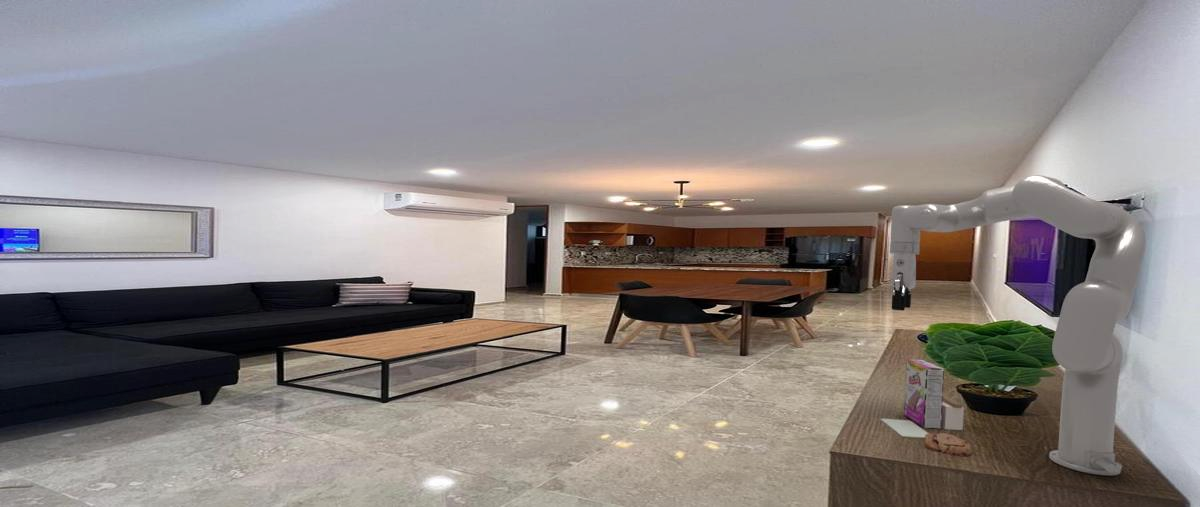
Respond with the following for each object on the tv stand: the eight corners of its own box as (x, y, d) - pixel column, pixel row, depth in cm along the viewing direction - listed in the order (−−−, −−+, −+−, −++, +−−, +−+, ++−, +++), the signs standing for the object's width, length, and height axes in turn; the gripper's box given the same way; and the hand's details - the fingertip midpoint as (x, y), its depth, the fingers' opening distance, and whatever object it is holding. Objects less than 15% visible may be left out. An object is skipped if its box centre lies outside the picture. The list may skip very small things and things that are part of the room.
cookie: (961, 460, 135) (962, 447, 135) (914, 445, 143) (915, 433, 143) (980, 452, 141) (980, 440, 141) (933, 438, 149) (934, 427, 149)
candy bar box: (902, 415, 168) (905, 358, 167) (920, 416, 167) (923, 359, 167) (923, 428, 156) (926, 367, 156) (942, 429, 156) (945, 368, 156)
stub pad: (935, 439, 148) (935, 437, 148) (902, 436, 149) (902, 435, 149) (910, 421, 162) (910, 420, 162) (880, 419, 163) (880, 418, 163)
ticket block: (963, 430, 156) (965, 404, 156) (942, 429, 156) (944, 403, 156) (939, 415, 169) (940, 391, 168) (920, 414, 169) (921, 390, 169)
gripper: (914, 249, 158) (910, 312, 159) (923, 249, 172) (920, 307, 173) (884, 248, 163) (880, 309, 163) (895, 248, 177) (892, 305, 177)
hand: (901, 308), depth 168 cm, fingers open, 9 cm apart
